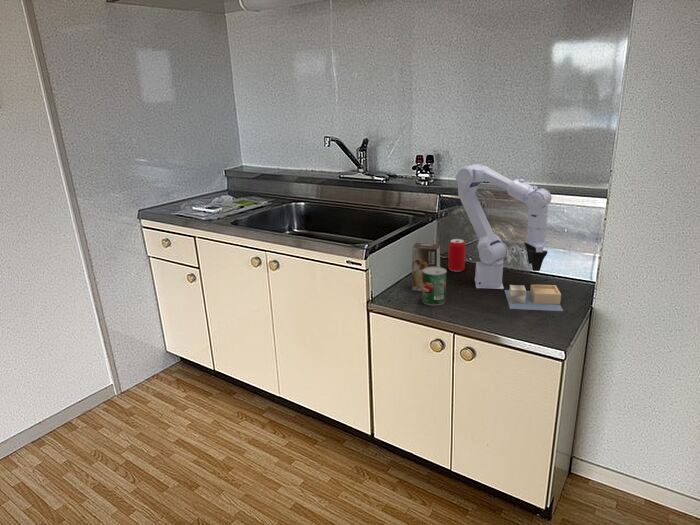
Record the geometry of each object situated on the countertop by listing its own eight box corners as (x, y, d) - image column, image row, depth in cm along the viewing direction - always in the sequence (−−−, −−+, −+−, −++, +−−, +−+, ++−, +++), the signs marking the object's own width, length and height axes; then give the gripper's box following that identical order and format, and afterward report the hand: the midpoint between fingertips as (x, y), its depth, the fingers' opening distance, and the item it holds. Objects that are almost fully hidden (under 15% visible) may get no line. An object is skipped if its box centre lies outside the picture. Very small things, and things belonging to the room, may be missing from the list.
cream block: (510, 302, 159) (511, 290, 158) (508, 297, 164) (509, 284, 162) (525, 303, 159) (526, 290, 157) (523, 298, 163) (524, 285, 161)
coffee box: (440, 286, 176) (441, 244, 171) (436, 293, 171) (437, 249, 165) (415, 284, 180) (416, 242, 174) (411, 290, 174) (411, 247, 169)
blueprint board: (509, 310, 155) (510, 298, 154) (504, 291, 170) (505, 280, 169) (563, 312, 152) (564, 300, 151) (552, 293, 167) (554, 282, 166)
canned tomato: (417, 301, 164) (417, 270, 161) (431, 294, 170) (431, 264, 166) (436, 307, 159) (437, 276, 155) (450, 300, 164) (451, 269, 161)
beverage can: (463, 267, 195) (464, 238, 191) (465, 272, 189) (466, 242, 185) (447, 267, 196) (448, 238, 192) (448, 272, 190) (449, 243, 186)
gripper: (554, 232, 151) (551, 274, 155) (545, 221, 164) (542, 260, 168) (530, 232, 152) (527, 274, 156) (523, 222, 165) (521, 260, 170)
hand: (534, 266), depth 162 cm, fingers open, 7 cm apart
